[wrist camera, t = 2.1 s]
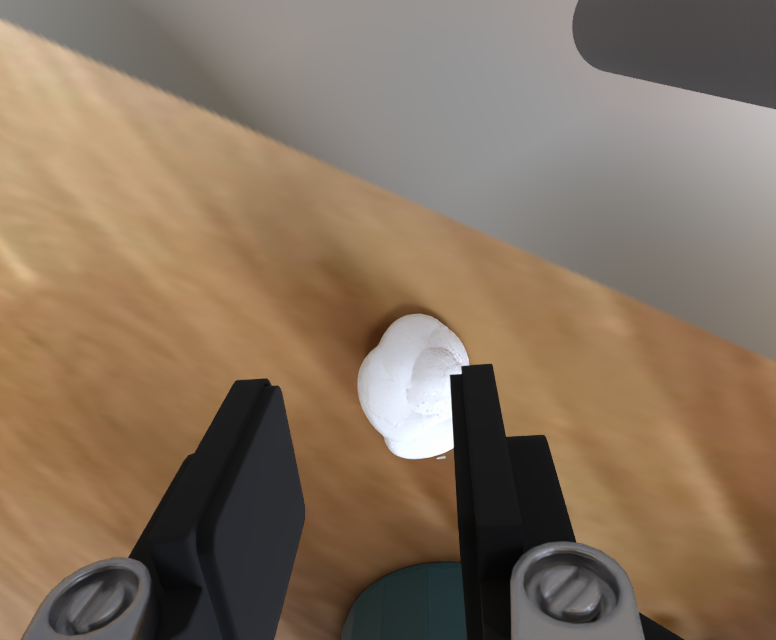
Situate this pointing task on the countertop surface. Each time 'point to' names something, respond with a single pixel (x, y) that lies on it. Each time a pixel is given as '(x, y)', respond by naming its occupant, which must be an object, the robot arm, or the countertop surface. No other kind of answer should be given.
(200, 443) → the robot arm
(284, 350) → the countertop surface
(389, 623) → the pot
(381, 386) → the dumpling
